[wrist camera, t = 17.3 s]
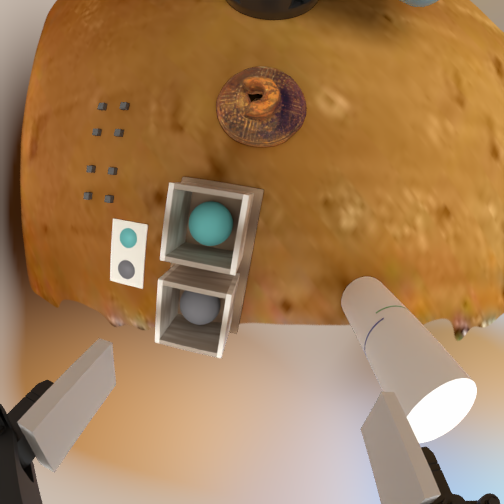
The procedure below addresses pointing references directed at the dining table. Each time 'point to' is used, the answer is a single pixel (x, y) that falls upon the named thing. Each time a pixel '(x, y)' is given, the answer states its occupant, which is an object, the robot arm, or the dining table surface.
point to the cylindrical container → (408, 360)
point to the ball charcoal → (199, 307)
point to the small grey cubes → (98, 133)
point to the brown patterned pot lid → (261, 107)
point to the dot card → (128, 252)
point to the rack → (205, 264)
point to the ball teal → (210, 223)
